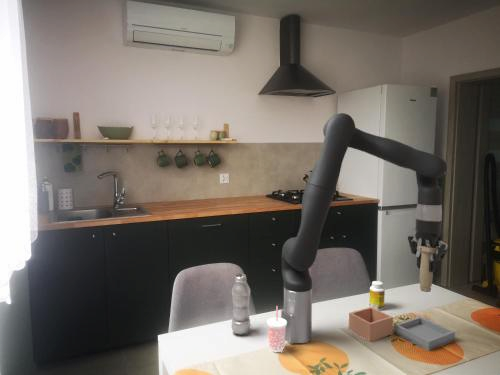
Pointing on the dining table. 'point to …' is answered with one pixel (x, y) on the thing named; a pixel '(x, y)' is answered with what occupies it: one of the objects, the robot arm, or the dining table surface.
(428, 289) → the handle
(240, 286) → the plastic bottle
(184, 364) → the dining table surface
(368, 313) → the terracotta storage bin
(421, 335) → the tray
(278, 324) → the beverage cup
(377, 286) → the supplement bottle
